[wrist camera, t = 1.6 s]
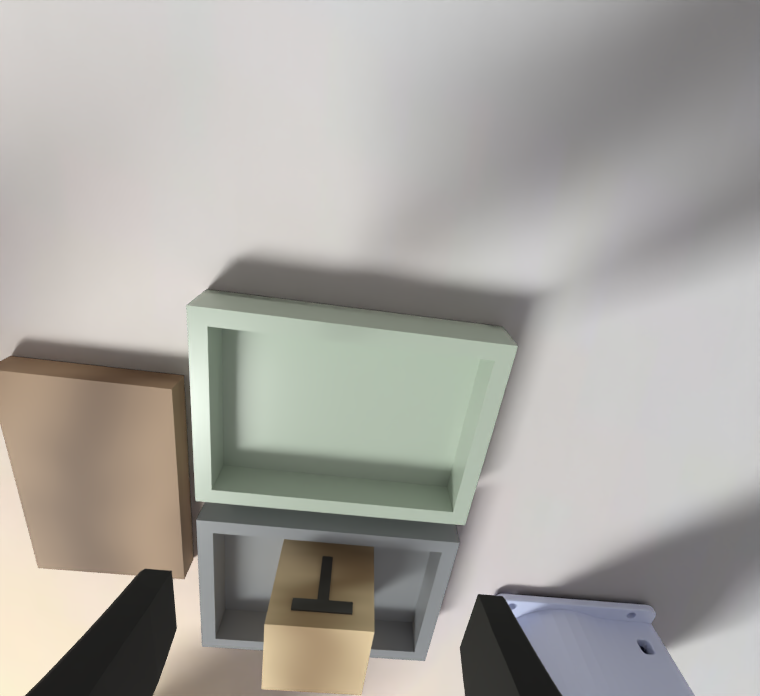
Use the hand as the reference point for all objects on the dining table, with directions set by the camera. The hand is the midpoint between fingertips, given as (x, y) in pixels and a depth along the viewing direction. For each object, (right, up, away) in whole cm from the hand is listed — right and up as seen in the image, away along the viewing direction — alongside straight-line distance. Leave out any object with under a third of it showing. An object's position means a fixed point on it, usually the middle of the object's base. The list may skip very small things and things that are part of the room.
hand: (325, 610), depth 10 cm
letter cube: (-2, -5, +12) cm, 13 cm away
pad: (-11, +1, +10) cm, 15 cm away
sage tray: (0, +4, +9) cm, 9 cm away
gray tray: (-2, -5, +13) cm, 14 cm away
